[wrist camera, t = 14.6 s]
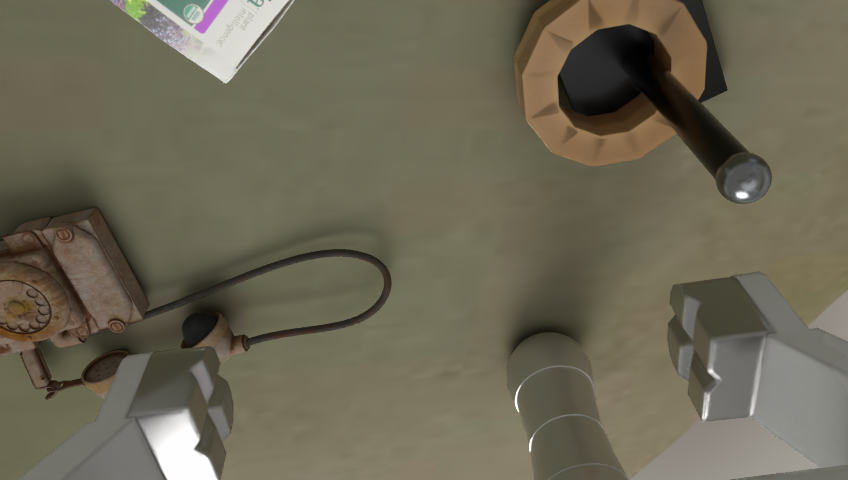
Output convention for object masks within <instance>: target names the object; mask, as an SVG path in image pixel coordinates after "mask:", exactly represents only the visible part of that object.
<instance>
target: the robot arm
mask: <svg viewBox="0 0 848 480" xmlns="http://www.w3.org/2000/svg"><path fill="white" fill-rule="evenodd" d="M670 305H671V307H672V309H673V310H674V312H675V314H676V315H675V316H674V317H673V318H672V319H671V320H670V322H669V323H668V337H667V339H668V345H669V352H670V356H671V359H672V362H673V365H674V367H675V369H676V371H677V373H678V375H679V376H681V377H683V378H684V379H686V380H688V381H689V385H688V395H689V397H690V399H691V401H692V403H693V405H694V406H695V408H696V410H697V412H698V414H699V416H700V418H701V420H702V422H705V421H714V420H725V419H734V418H744V417H753V419H754V420H755V421H756V422H758V423H759V424H760V425H762V426H763V427H765V428H766V429H767V430H769V431H770V432H771V433H773V434H774V435H776V436H777V437H778V438H780V439H781V440H783V441H784V442H785V443H787V444H788V445H790V446H791V447H792V448H794V449H795V450H796V451H798V452H799V453H800V454H802V455H803V456H805V457H806V458H807V459H809V460H810V461H811V462H813V463H814V464H816V465H817V466H818V467H820V468H817V469H809V470H801V471H793V472H785V473H778V474H770V475H762V476H755V477H747V478H740V479H732V480H848V341H845V340H843V339H841V338H839V337H836V336H834V335H832V334H830V333H828V332H825V331H823V330H821V329H819V328H813V329H809V328H808V327H807V326H806V325H805V323H804V322H803V321H802V320H801V318H800V317H799V316H798V315H797V313H796V312H795V311H794V310H793V308H792V307H791V306H790V305H789V303H788V302H787V301H786V300H785V298H784V297H783V296H782V295H781V293H780V292H779V291H778V290H777V288H776V287H775V286H774V285H773V284H772V282H771V281H770V280H769V279H768V277H767V276H766V275H765V274H764V273H762V272H753V273H747V274H740V275H734V276H731V277H726V278H718V279H711V280H704V281H697V282H689V283H682V284H675V285H673V287H672V290H671V294H670ZM219 366H220V361H219V358H218V356H217V353H216V351H215V349H214V348H213V347H211V346H203V347H194V348H185V349H176V350H167V351H158V352H155V353H143V354H135V355H128V356H127V357H125V358H124V359H123V360H122V361H121V363H120V365H119V368H118V370H117V372H116V374H115V377H114V379H113V381H112V384H111V386H110V388H109V390H108V393H107V395H106V397H105V399H104V402H103V404H102V406H101V409H100V411H99V413H98V415H97V418H96V420H95V422H94V423H87V424H85V425H84V426H83V427H81V428H80V429H79V430H78V431H76V432H75V433H74V434H73V435H72V436H70V437H69V438H68V439H67V440H65V441H64V442H63V443H62V444H61V445H59V446H58V447H57V448H56V449H54V450H53V451H52V452H51V453H50V454H48V455H47V456H46V457H45V458H43V459H42V460H41V461H40V462H38V463H37V464H36V465H35V466H34V467H32V468H31V469H30V470H29V471H27V472H26V473H25V474H24V475H23V476H21V477H20V478H19V479H18V480H220V479H221V475H222V470H223V466H224V461H225V457H226V451H225V449H224V446H223V443H222V442H223V441H224V440H225V438H226V437H227V436H228V435H229V434H230V433H231V429H232V424H233V400H232V395H231V391H230V388H229V385H228V382H227V381H226V380H225V379H223V378H222V377H220V376H219V375H217V374H218V370H219Z"/></svg>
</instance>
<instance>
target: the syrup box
mask: <svg viewBox="0 0 848 480" xmlns="http://www.w3.org/2000/svg"><path fill="white" fill-rule="evenodd" d="M110 1H112V2H113V3H114V4H115V5H117V6H118V7H119V8H121V9H122V10H123V11H124V12H126V13H127V14H129V15H130V16H131V17H133V18H134V19H135V20H137V21H138V22H140V23H141V24H142V25H143V26H145V27H146V28H147V29H149V30H150V31H151V32H152V33H154V34H155V35H156V36H157V37H159V38H160V39H162V40H163V41H164V42H166V43H167V44H169V45H170V46H171V47H173V48H174V49H176V50H178V51H179V52H180V53H181V54H183V55H185V56H186V57H187V58H189V59H190V60H192V61H194V62H195V63H196V64H198V65H199V66H201V67H202V68H204V69H205V70H207V71H209V72H210V73H211V74H213V75H215V76H216V77H217V78H219V79H220V80H221V81H222V82H224V83H227V82H228V81H230V80H231V79H232V77H233V76H234V75H235V74H236V72H237V71H238V70H239V68H240V67H241V66H242V65H243V63H244V62H245V61H246V60H247V59H248V58H249V56H250V55H251V54H252V53H253V52H254V51H255V50H256V48H257V47H258V46H259V45H260V44H261V43H262V41H263V40H264V39H265V38H266V37H267V36H268V35H269V33H270V32H271V31H272V30H273V28H274V27H275V26H276V25H277V24H278V22H279V21H280V20H281V18H282V17H283V15H284V14H285V12H286V11H287V10H288V8H289V7H290V6H291V4H292V3H293V2H294V0H110Z"/></svg>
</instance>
